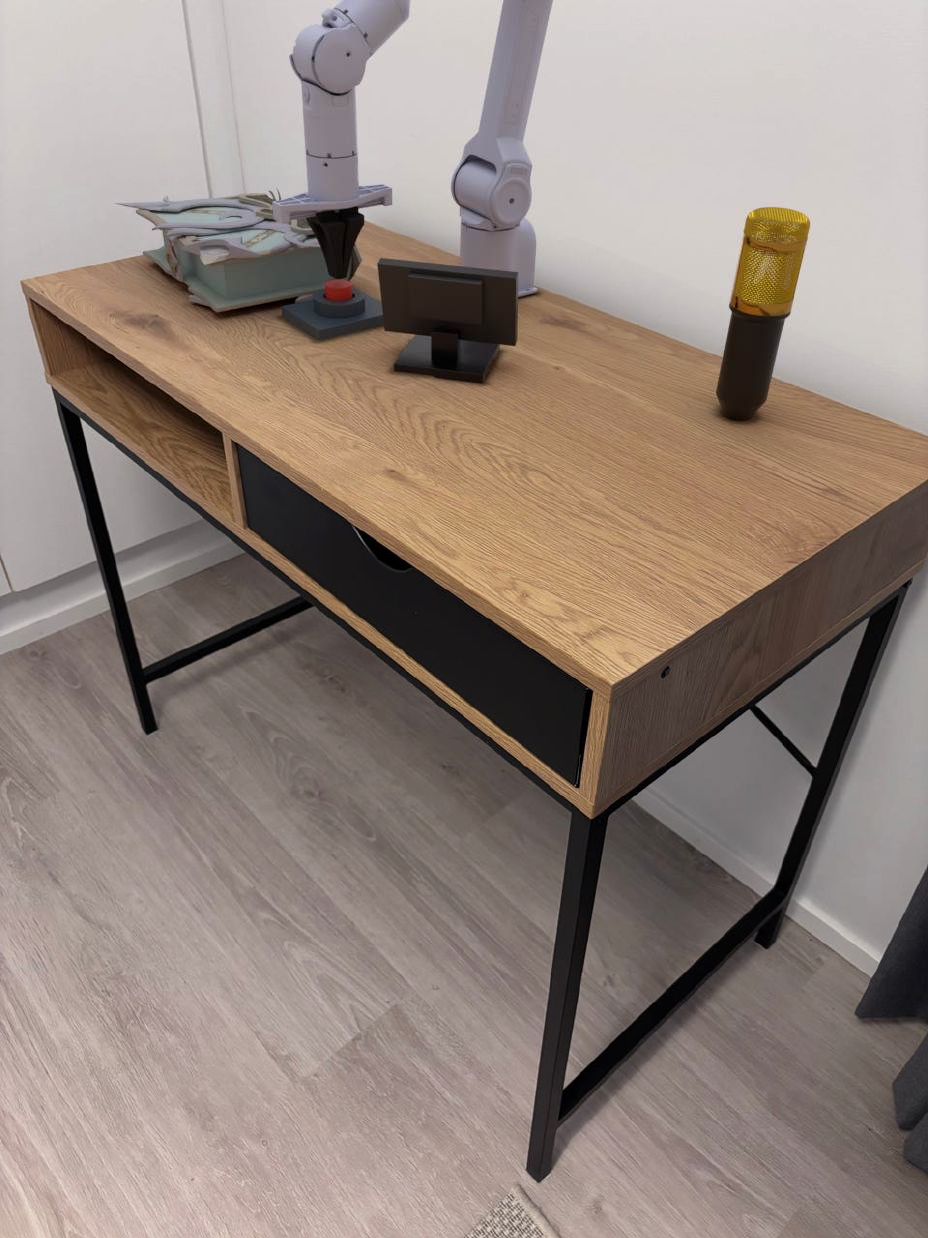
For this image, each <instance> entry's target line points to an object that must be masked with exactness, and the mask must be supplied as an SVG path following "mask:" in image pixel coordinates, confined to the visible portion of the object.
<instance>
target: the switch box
mask: <svg viewBox="0 0 928 1238" xmlns="http://www.w3.org/2000/svg"><path fill="white" fill-rule="evenodd" d="M281 317H282V318H283V319H285V320H286V321H288V322H290V323H291V324H293V325H294V326H296V327H297V328H299V330H302V331H304V332H305V333H306V334H308V335H309V336H311V337H313V338H314V339H316V340H317V341H319V342H320V341H323V340H324V341H325V340H329V339H332V338H337V337H339V336H340V337H341V336H345V335H349V334H353V333H357V332H361V331H366V330H369V329H374V328H377V327H381V326H384V321H383V312H382V303H381V301H380V300H378V299H376V298H374V297H373V296H371V295H369V294H367V293H366V292H364V291H363V290H360V289H358V288H353V287H352V299H351V300H347V301H330V300H327V299H326V296H325V289H321V290H319V291H317V292H315V293H314V294H313V300H309V301H304V302H300V303H291V304H286V305H282V306H281Z"/></svg>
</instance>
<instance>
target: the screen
mask: <svg viewBox="0 0 928 1238" xmlns="http://www.w3.org/2000/svg"><path fill="white" fill-rule="evenodd" d="M376 264H377V265H376V266H377V273H378V283H379V291H380V292H379V293H380V300H381V301H380V302H381V303H382V312H383V321H384V325H383V330H384V332H387V333H388V332H390V333H398V334H406V335H413V336H415V335H422V336H431V332H432V330H433V329H434V327H437V328H446V329H455V330H461V340H465V341H474V342H482V343H491V344H500V346H509V347H516V345H517V343H518V338H519V337H518V333H519V331H518V330H519V327H518V326H519V297H518V272H512V271H502V270H492V269H483V268H473V267H464V266H460V265H453V264H443V263H434V262H425V261H414V260H405V259H395V258H385V257H380V258H379V259H378V261H377V263H376Z"/></svg>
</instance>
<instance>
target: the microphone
mask: <svg viewBox="0 0 928 1238" xmlns="http://www.w3.org/2000/svg"><path fill="white" fill-rule="evenodd" d="M810 228H811V220H810V218H809V217H808V215H806V214H805V213H803V212H801V211H798V210H796V209H791V208H787V207H779V206H778V207H777V206H764V207H758V208H755V209H753V210H751V211H750V212H749V213H748V214H747V216H746V219H745V224H744V229H743V231H742V236H741V241H740V247H739V252H738V257H737V263H736V267H735V272H734V278H733V282H732V283H733V284H732V288H731V293H730V298H729V303H728V309H729V310H730V311H731V313H730V318H729V324H728V328H727V334H726V339H725V344H724V349H723V353H722V359H721V365H720V370H719V373H718V374H719V375H718V380H717V384H716V391H715V395H716V398H717V400H718V403H719V405H720V408H721V410H722V413H723V415H724V416H725V417H727V418H729V419H731V420H734V421H747V420H749V419H750V418H751V417H753V415H755V413H756V412H758V410H759V409H760V408H761V407H762V406H763V405H764V404H766V402H767V399H768V395H769V391H770V386H771V383H772V378H773V373H774V369H775V365H776V360H777V356H778V351H779V347H780V343H781V340H782V339H781V338H782V335H783V330H784V325H785V321H786V319H787V318H788V317H790V315H791V313H792V309H793V305H794V300H795V294H796V290H797V286H798V280H799V276H800V272H801V269H802V263H803V260H804V256H805V250H806V247H807V244H808V239H809V233H810Z"/></svg>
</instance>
